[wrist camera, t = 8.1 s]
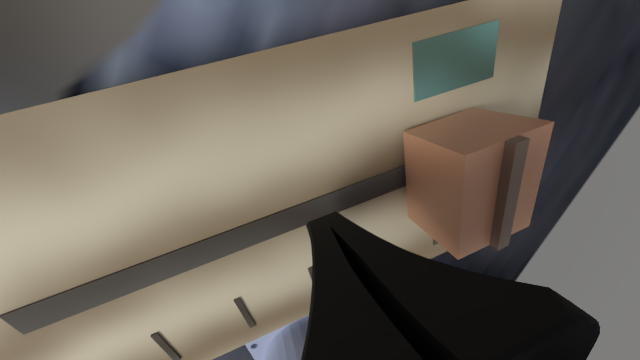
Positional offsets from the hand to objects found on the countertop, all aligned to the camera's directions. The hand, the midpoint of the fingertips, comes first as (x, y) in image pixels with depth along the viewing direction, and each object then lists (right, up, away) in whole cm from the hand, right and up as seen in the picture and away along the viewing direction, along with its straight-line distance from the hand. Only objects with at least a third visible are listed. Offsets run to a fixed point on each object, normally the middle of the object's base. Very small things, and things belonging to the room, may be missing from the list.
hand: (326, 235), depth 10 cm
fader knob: (+6, +3, +3) cm, 7 cm away
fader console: (-2, +2, +4) cm, 5 cm away
